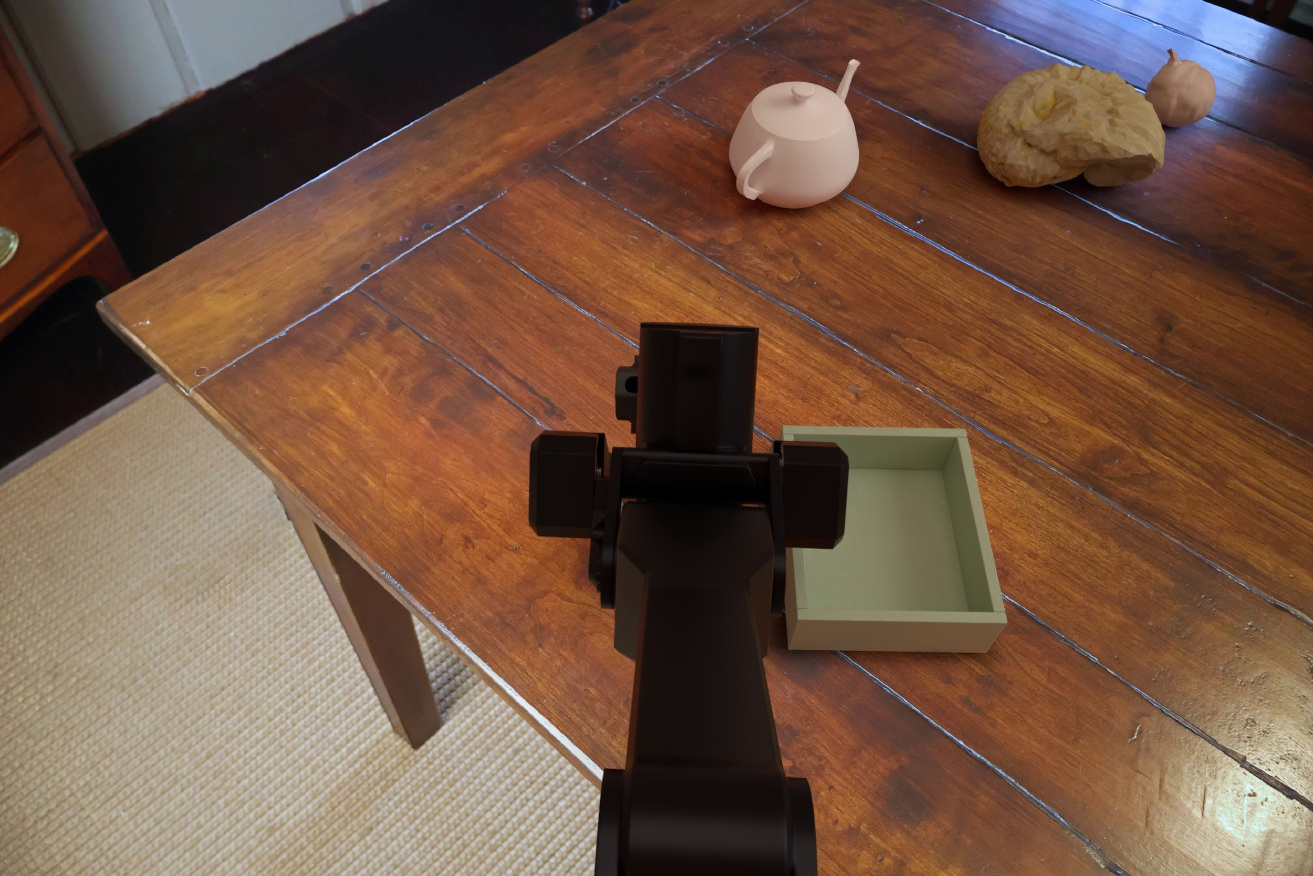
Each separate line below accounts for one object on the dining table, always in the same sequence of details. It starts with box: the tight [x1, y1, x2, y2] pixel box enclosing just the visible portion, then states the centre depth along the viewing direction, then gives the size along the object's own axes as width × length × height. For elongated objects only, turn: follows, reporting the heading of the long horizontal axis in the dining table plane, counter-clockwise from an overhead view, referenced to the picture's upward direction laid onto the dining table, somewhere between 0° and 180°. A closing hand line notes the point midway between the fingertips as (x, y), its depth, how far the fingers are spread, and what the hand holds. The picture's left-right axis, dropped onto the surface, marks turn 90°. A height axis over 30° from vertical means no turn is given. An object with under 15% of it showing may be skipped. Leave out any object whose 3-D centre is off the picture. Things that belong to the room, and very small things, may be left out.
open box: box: [778, 424, 1008, 654], centre depth 68 cm, size 16×14×5 cm
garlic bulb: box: [1143, 47, 1217, 128], centre depth 98 cm, size 7×6×8 cm
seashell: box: [976, 62, 1166, 188], centre depth 92 cm, size 17×11×15 cm
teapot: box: [728, 58, 861, 209], centre depth 91 cm, size 20×12×10 cm, turn 142°
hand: (685, 464), depth 66 cm, fingers open, 9 cm apart
